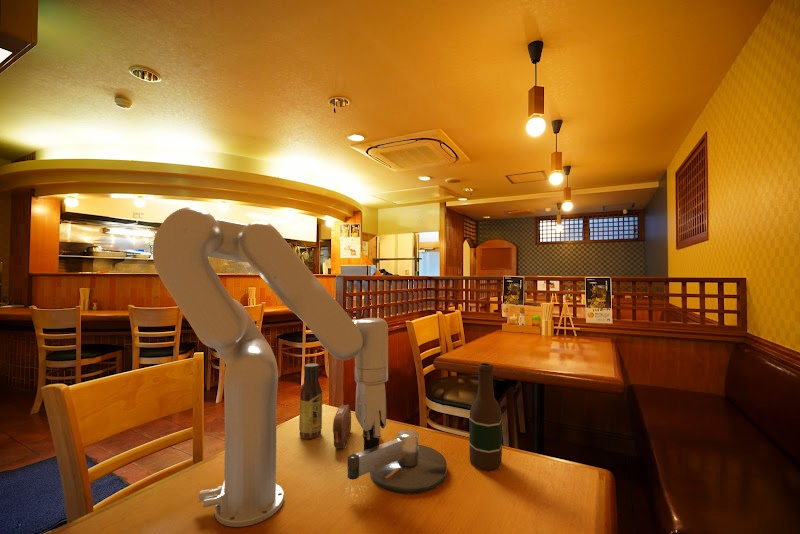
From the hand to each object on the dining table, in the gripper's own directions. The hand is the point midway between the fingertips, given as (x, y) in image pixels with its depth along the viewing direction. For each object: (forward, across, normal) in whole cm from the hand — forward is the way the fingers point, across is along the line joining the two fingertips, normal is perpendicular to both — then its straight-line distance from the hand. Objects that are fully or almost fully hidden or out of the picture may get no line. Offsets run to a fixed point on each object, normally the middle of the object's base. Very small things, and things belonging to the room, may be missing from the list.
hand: (371, 454), depth 81 cm
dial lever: (+3, +2, +2) cm, 4 cm away
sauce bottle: (+5, -26, -10) cm, 29 cm away
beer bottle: (+6, +4, +28) cm, 29 cm away
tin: (+6, -20, -3) cm, 21 cm away
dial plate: (+5, 0, +9) cm, 10 cm away
